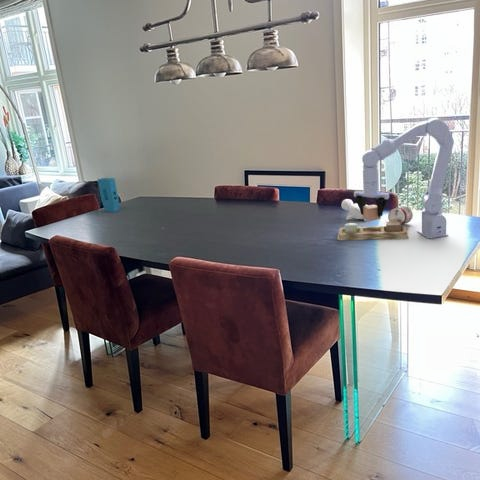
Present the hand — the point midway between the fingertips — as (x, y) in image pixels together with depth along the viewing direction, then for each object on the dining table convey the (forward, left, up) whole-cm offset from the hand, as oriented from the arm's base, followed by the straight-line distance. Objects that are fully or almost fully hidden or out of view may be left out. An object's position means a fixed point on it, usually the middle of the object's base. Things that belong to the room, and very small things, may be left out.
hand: (371, 215), depth 188 cm
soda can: (+10, -18, -5) cm, 22 cm away
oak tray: (0, 0, -8) cm, 8 cm away
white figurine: (+27, -3, -9) cm, 29 cm away
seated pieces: (0, 0, -8) cm, 8 cm away
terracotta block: (0, 0, -1) cm, 1 cm away
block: (+118, +121, -9) cm, 169 cm away
